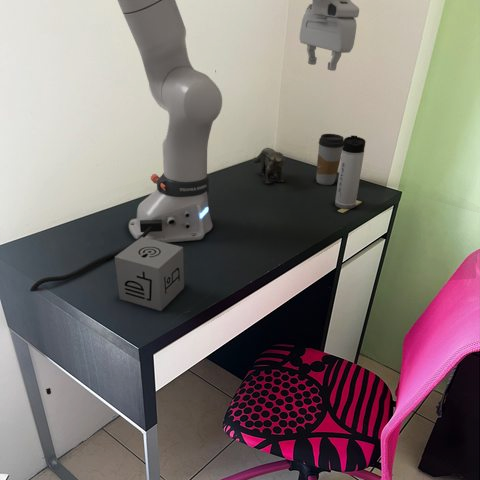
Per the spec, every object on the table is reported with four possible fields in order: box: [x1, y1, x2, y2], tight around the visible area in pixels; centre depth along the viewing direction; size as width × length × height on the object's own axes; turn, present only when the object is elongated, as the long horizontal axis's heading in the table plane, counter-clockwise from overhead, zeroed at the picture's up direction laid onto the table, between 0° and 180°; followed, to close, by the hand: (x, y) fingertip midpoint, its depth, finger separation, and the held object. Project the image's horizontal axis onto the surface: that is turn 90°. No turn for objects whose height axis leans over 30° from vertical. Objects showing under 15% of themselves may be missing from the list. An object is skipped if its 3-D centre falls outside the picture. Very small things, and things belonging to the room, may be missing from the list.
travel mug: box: [334, 135, 367, 210], centre depth 143 cm, size 6×7×20 cm
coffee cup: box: [316, 133, 345, 186], centre depth 161 cm, size 8×8×15 cm
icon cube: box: [114, 237, 185, 312], centre depth 101 cm, size 10×10×10 cm
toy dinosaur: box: [252, 147, 286, 184], centre depth 162 cm, size 22×8×11 cm, turn 10°
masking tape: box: [337, 199, 362, 214], centre depth 148 cm, size 12×2×1 cm, turn 140°
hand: (321, 67), depth 130 cm, fingers open, 8 cm apart
